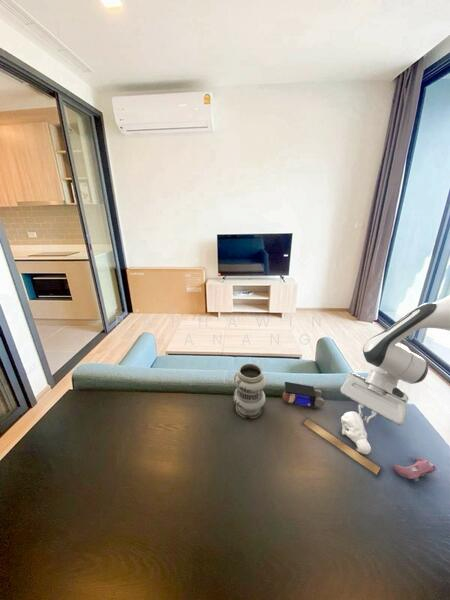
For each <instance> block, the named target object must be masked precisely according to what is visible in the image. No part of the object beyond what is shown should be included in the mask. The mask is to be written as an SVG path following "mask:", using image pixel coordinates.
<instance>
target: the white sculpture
mask: <svg viewBox="0 0 450 600" xmlns="http://www.w3.org/2000/svg"><path fill="white" fill-rule="evenodd" d="M363 420H364V419H362V418H361V417H360V415H359V412H357V411H354V410H352V411H346V412H344V414H342V416H341V417H340V423H341V424H342V425H341V426H342V429H341V435H342V436H347V438H349V439H350V440H351V441H352V442H354V443H355V445H356V447H355V449H354V450H355V451H356V452H358V453H360V454H361V455H369V454H370V452H371V451H372V447H371V444H370V443H369V441H368V433H367V431H366V428H365V425H364V421H363Z"/></svg>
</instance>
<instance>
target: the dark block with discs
mask: <svg viewBox="0 0 450 600" xmlns="http://www.w3.org/2000/svg"><path fill="white" fill-rule="evenodd" d="M322 396H323V392H322V391H321V390H320V389H316V388H314V386H312V385H307V384H302V383H295V382H289V381H284V392H282V400H283V401H284V402H285V403H287V404H292V403H295V404H297V405H300V406H302V407H303V406H305V407H310V408H314V409H316V408H317V407H318V408H322V407H324V406H325V400H324V398H322Z"/></svg>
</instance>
